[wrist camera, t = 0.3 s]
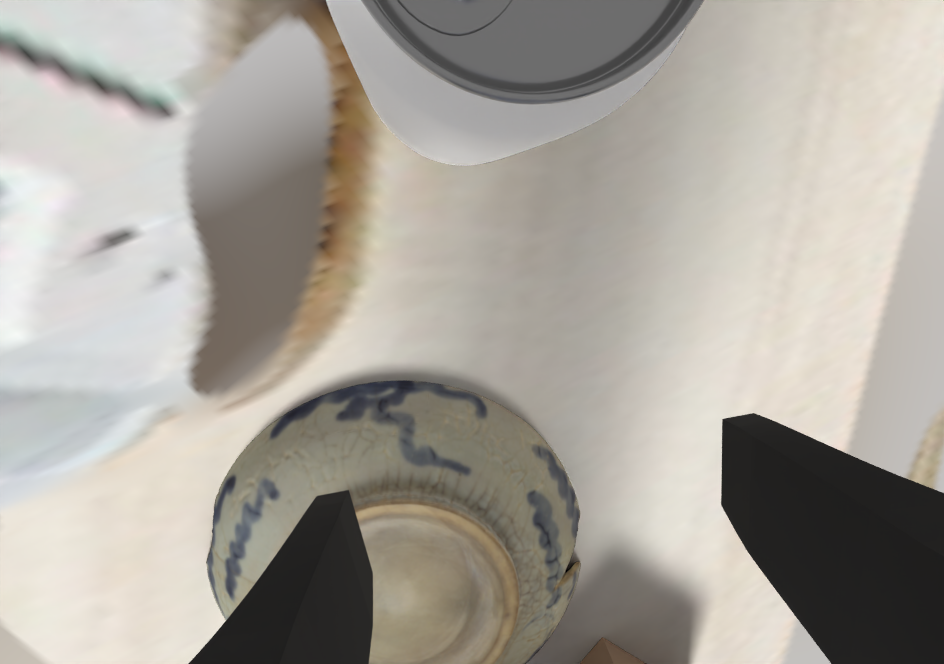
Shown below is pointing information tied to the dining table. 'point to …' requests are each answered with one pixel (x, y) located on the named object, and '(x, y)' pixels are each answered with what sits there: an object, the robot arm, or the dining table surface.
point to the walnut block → (609, 655)
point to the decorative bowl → (415, 517)
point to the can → (503, 67)
